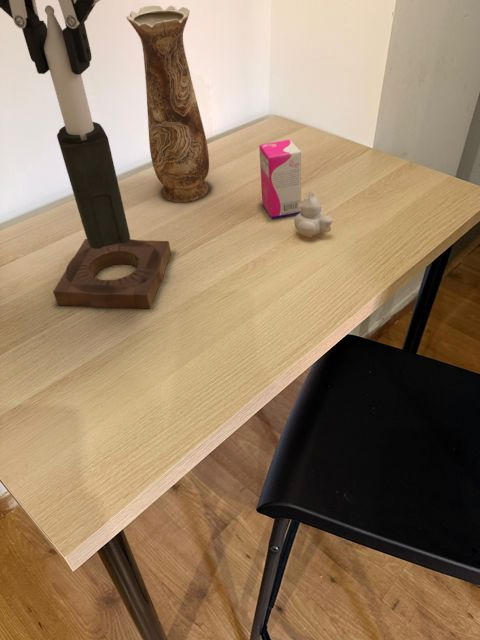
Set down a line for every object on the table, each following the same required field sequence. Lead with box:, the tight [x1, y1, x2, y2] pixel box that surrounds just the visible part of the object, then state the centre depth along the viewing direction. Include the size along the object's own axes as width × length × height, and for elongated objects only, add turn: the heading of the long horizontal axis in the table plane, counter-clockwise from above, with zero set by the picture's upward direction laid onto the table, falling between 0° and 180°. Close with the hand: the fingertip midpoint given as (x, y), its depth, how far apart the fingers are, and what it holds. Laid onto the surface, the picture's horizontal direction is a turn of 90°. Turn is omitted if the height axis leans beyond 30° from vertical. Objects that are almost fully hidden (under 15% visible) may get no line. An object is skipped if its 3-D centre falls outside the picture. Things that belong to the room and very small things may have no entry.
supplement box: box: [258, 139, 302, 221], centre depth 92 cm, size 6×6×12 cm
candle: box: [44, 4, 131, 249], centre depth 59 cm, size 5×5×25 cm
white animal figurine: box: [293, 189, 334, 238], centre depth 87 cm, size 5×7×8 cm
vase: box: [125, 5, 210, 203], centre depth 92 cm, size 10×11×30 cm
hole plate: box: [52, 238, 172, 309], centre depth 82 cm, size 14×14×2 cm
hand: (64, 68), depth 54 cm, fingers closed on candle, 3 cm apart
